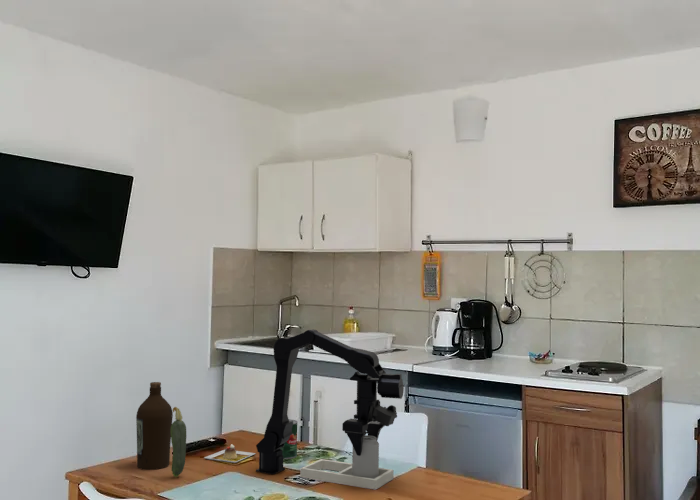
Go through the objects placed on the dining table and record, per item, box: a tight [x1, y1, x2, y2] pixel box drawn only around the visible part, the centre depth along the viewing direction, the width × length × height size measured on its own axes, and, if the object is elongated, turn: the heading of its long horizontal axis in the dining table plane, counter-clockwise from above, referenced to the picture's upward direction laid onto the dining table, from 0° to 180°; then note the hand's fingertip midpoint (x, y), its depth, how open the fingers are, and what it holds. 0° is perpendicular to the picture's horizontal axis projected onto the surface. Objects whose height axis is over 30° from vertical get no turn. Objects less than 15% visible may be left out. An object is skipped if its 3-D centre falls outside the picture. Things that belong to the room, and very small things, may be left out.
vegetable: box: [171, 406, 187, 478], centre depth 190 cm, size 4×4×20 cm
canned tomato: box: [280, 418, 298, 460], centre depth 216 cm, size 8×8×11 cm
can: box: [351, 434, 380, 479], centre depth 189 cm, size 8×8×12 cm
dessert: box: [203, 443, 257, 464], centre depth 214 cm, size 12×12×5 cm
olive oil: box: [135, 381, 174, 471], centre depth 203 cm, size 11×11×25 cm
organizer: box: [299, 458, 394, 490], centre depth 192 cm, size 24×12×2 cm, turn 63°
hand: (366, 452), depth 190 cm, fingers open, 9 cm apart
